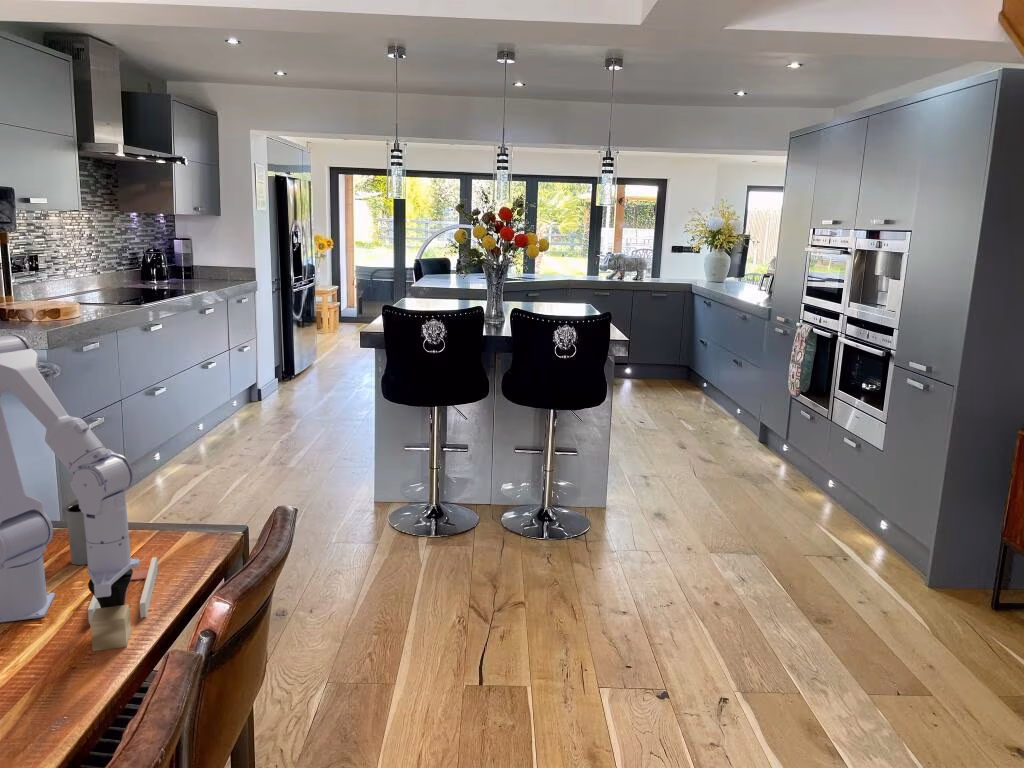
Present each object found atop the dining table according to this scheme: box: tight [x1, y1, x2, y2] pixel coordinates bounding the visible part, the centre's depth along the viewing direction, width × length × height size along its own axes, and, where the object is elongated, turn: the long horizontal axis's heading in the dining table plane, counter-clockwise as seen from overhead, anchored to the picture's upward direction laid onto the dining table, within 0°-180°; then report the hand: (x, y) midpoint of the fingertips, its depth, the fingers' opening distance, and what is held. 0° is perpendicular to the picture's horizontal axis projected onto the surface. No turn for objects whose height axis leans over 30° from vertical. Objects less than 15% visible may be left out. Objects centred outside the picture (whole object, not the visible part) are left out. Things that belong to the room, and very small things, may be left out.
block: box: [89, 604, 132, 652], centre depth 115 cm, size 4×4×4 cm
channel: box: [87, 556, 159, 625], centre depth 129 cm, size 8×18×2 cm, turn 19°
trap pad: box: [130, 568, 149, 582], centre depth 136 cm, size 6×4×1 cm, turn 109°
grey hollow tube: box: [65, 503, 88, 566], centre depth 141 cm, size 4×4×10 cm
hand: (114, 619), depth 118 cm, fingers closed
